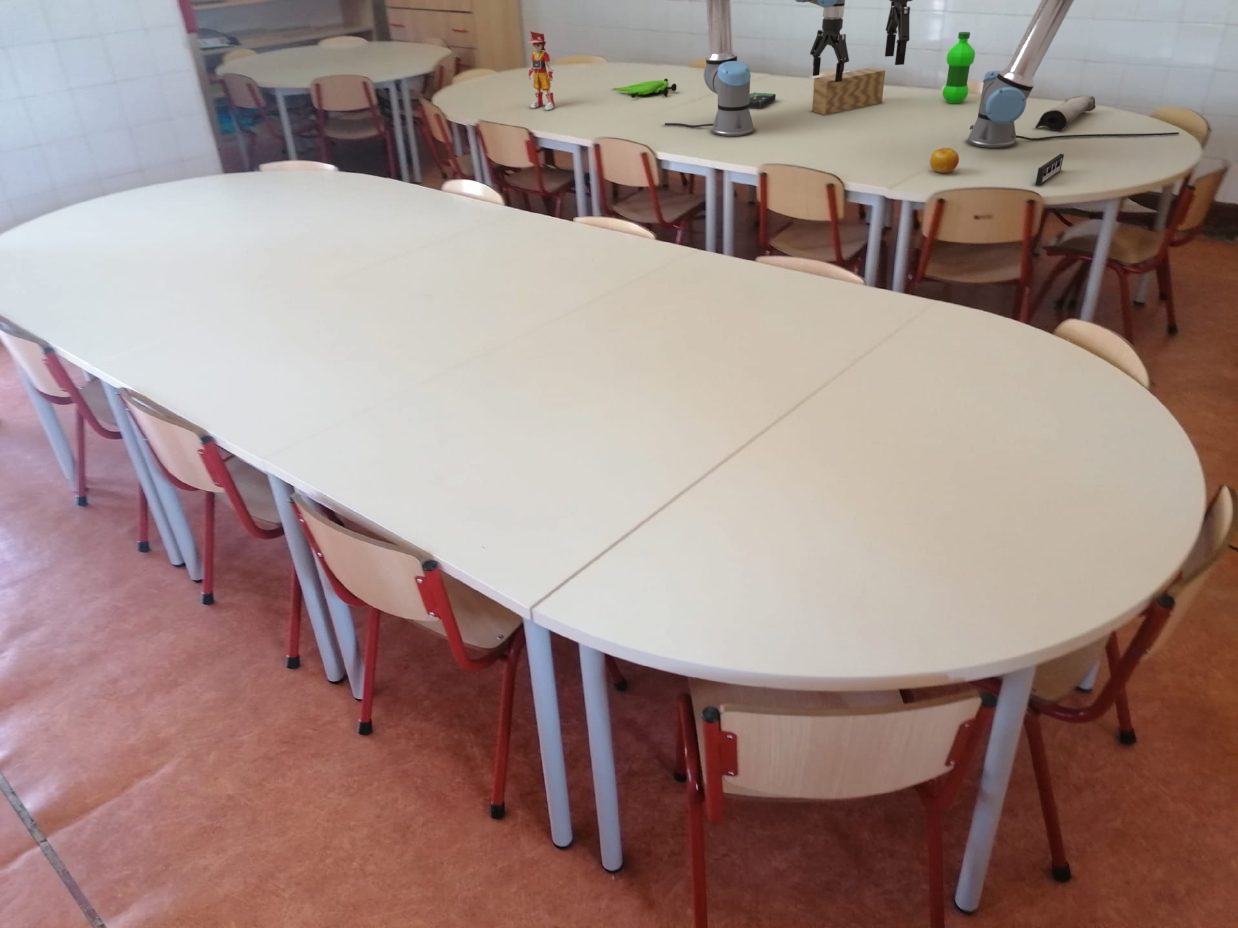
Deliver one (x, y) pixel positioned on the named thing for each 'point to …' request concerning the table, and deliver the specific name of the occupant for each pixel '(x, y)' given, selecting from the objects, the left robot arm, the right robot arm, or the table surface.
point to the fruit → (944, 160)
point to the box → (848, 91)
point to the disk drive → (760, 99)
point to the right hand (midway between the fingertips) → (894, 60)
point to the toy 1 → (541, 71)
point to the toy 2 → (648, 88)
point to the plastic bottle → (958, 69)
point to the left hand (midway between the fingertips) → (826, 78)
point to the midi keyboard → (1049, 169)
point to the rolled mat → (1066, 112)
